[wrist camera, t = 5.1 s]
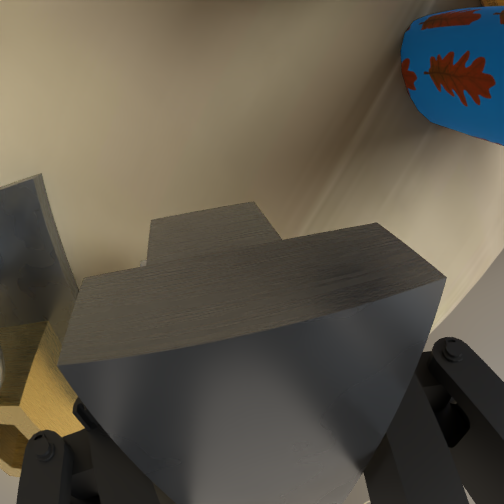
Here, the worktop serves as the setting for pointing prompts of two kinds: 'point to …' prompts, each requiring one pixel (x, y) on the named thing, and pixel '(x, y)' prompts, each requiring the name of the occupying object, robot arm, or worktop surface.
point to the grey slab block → (252, 355)
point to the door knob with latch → (32, 322)
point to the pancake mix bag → (492, 3)
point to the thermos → (458, 70)
